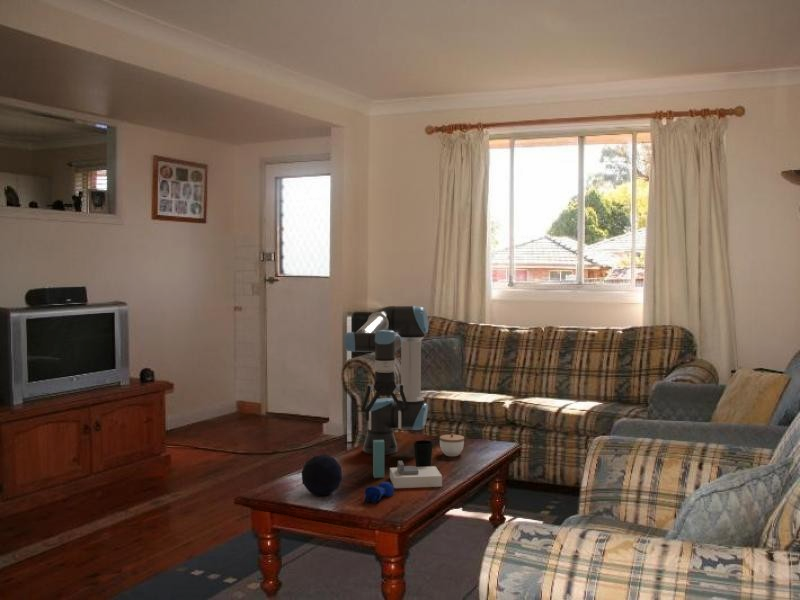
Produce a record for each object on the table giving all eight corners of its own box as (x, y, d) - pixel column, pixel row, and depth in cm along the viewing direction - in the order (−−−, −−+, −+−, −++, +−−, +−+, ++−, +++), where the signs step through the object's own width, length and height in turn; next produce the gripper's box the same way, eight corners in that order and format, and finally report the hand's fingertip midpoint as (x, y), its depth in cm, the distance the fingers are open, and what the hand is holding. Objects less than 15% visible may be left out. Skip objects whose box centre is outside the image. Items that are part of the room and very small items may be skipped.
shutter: (397, 469, 303) (397, 460, 303) (415, 469, 304) (415, 459, 304) (399, 474, 296) (399, 465, 296) (418, 474, 297) (418, 464, 297)
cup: (431, 475, 311) (431, 445, 310) (412, 473, 313) (412, 444, 312) (434, 469, 319) (434, 440, 318) (415, 468, 320) (415, 439, 320)
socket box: (389, 477, 307) (389, 467, 307) (435, 476, 309) (435, 466, 309) (394, 488, 293) (394, 477, 293) (441, 486, 295) (442, 476, 295)
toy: (378, 507, 273) (397, 493, 287) (378, 489, 273) (397, 477, 286) (361, 504, 276) (381, 491, 290) (361, 487, 276) (381, 474, 289)
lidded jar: (463, 458, 338) (463, 436, 337) (438, 457, 339) (438, 435, 339) (465, 452, 348) (465, 431, 348) (440, 451, 350) (441, 430, 349)
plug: (373, 475, 311) (373, 440, 310) (383, 474, 311) (383, 439, 311) (374, 477, 307) (374, 442, 306) (384, 477, 307) (384, 442, 307)
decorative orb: (316, 470, 297) (305, 444, 288) (352, 474, 292) (342, 448, 283) (302, 501, 287) (289, 475, 278) (339, 506, 282) (327, 480, 273)
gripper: (355, 373, 292) (355, 431, 293) (416, 371, 295) (416, 430, 296) (353, 370, 299) (353, 427, 300) (413, 369, 303) (413, 425, 304)
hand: (384, 428), depth 298 cm, fingers open, 11 cm apart
